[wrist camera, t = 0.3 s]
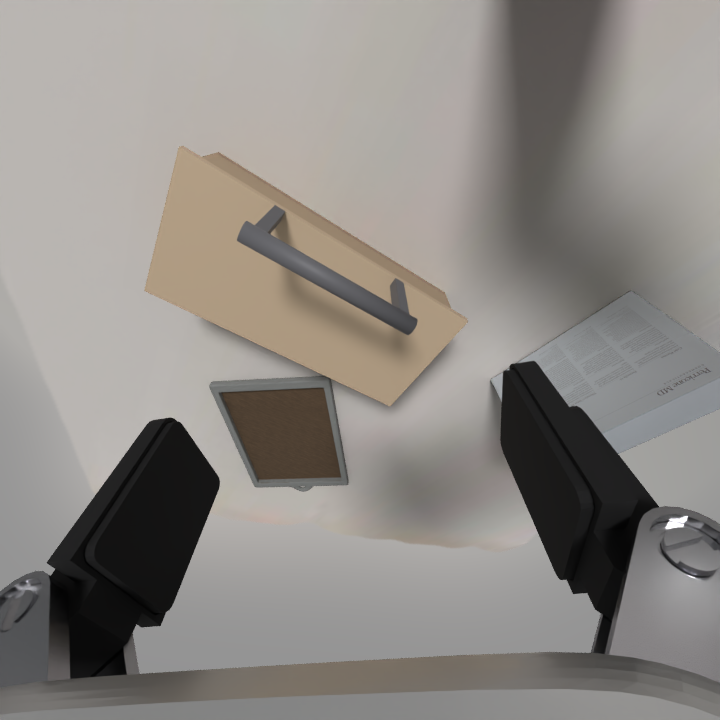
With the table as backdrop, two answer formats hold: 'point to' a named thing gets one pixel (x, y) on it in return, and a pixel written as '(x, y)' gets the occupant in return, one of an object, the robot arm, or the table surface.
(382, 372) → the lid
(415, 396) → the table surface
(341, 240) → the mailer box
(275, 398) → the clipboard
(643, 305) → the skincare box
